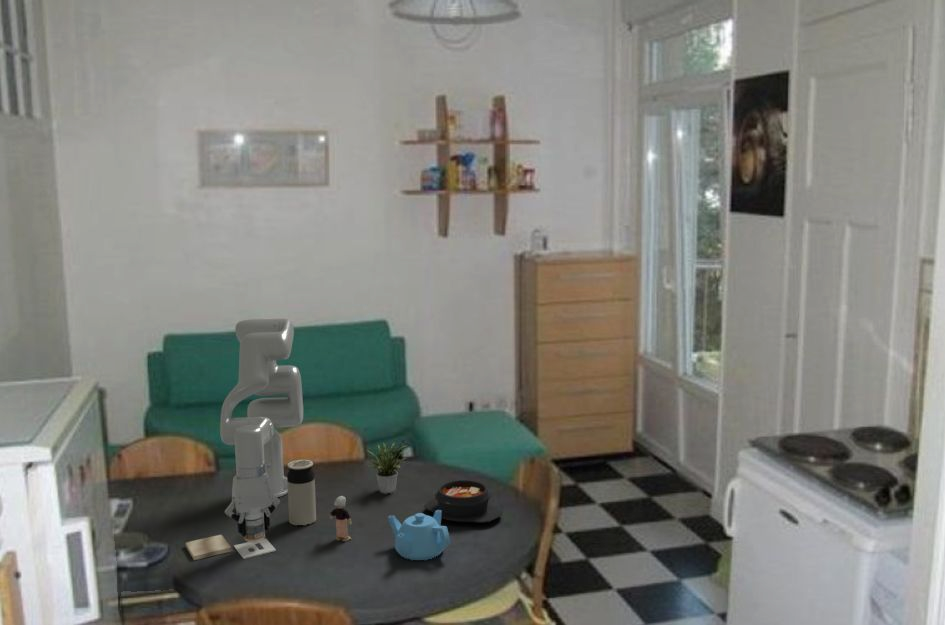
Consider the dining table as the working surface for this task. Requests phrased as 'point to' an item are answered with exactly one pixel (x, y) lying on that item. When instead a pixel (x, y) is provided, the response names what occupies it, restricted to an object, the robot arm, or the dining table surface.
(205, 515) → the dining table surface
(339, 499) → the grandmother figurine
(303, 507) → the travel mug
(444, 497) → the casserole
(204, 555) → the coaster
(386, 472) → the house plant
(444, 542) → the teapot
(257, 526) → the pill bottle
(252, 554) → the tile
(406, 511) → the dining table surface
